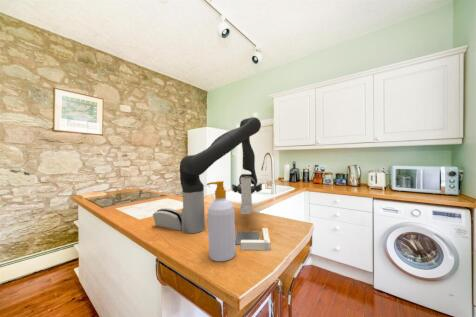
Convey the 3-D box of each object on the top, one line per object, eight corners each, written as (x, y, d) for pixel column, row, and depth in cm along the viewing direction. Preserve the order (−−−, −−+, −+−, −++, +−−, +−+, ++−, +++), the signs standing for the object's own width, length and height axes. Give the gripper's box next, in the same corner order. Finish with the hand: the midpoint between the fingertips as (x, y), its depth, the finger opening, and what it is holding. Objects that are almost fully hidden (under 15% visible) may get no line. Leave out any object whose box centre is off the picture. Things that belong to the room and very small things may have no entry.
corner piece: (240, 249, 60) (240, 242, 60) (242, 234, 72) (242, 228, 72) (270, 250, 59) (270, 242, 59) (267, 234, 72) (267, 228, 72)
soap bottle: (201, 255, 57) (199, 182, 57) (224, 245, 64) (221, 179, 64) (218, 266, 51) (215, 184, 51) (241, 253, 57) (238, 180, 58)
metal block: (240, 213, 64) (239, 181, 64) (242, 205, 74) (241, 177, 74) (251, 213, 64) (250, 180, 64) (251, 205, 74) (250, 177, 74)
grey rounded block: (189, 226, 83) (183, 208, 80) (182, 233, 79) (175, 214, 76) (163, 221, 90) (157, 205, 87) (156, 228, 86) (149, 210, 83)
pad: (234, 244, 64) (234, 244, 64) (237, 232, 75) (237, 231, 75) (259, 245, 63) (259, 244, 63) (258, 232, 74) (258, 231, 74)
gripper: (232, 177, 87) (227, 182, 70) (261, 176, 86) (264, 181, 69) (233, 192, 87) (228, 201, 70) (262, 191, 86) (264, 200, 69)
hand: (246, 191), depth 69 cm, fingers closed on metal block, 4 cm apart
